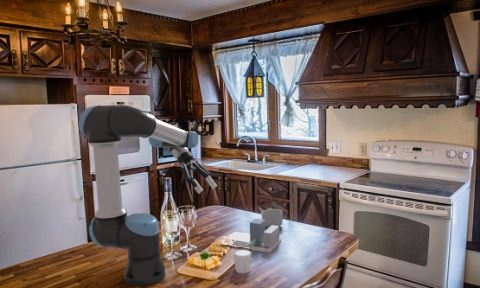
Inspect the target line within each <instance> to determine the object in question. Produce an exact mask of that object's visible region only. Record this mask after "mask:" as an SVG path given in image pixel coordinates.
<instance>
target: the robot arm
mask: <svg viewBox="0 0 480 288" xmlns="http://www.w3.org/2000/svg"><path fill="white" fill-rule="evenodd" d="M78 125H79V131H80V132H81V133H82V135H83V136H84V137H86V138H87V143H88V145H90V146H91V147H92V150H93V151H92V152H93V160H94V162H93V163H94V172H95V173H94V174H95V183H96V193H97V194H96V195H97V207H98V209H97V211H96V212H95V213H94V217H93V218H92V220H91V221H90V225H89V227H88V231H89V237H90V239H91V242H93V243H94V244H95V245H96V246H101V247H103V248H114V249H123V250H126V251H127V261H126V266H125V270H124V273H123V275H124V276H123V277H124V283H126V284H127V285H129V286H132V287H147V286H151V285H154V284H157V283H159V282H161V281H162V280H163V279H165V277H166V275H167V271H166V266H165V264H164V261H163V259H162V256H161V252H160V251H161V246H160V227H159V221H158V219H157V217H156V216H154V215H152V214H149V213H141V212H140V213H138V212H137V213H132V214H129V215H128V211H127V208H125V207H124V206H123V201H122V200H123V199H122V186H121V176H120V174H121V172H120V161H119V152H118V150H119V149H118V145H119V144H120V143H121V142H122V138H127V137H128V138H129V137H130V138H133V137H134V138H135V137H137V138H142V139H147V138H148V142H149V145H150V146H151V147H154V148H165V149H166V148H167V149H168V150H169V152H170V153H171V154H172V156H173V157H174V158H175V159H176V161H177V163H178V164H179V168H180V169H181V172H182V175H183V178H184V181H185V182H186V183H187V184H191V186H192V187H193V188H194V190H195V191H196V193H197V194H199V195H200V194H201V192H203V191H204V189H203V188H202V187H201V185H200V184H199V183H198V181H197V180H196V178H194V173H195V172H196V173H198V174H199V175H201V176H202V177H203V178H205V181H206V182H207V183H208V185H209V186H210V187H211V189H212V190H214V189H215V188H216V187H217V186H218V185H217V183H216V182H215V181H214V179H213V178H212V176H211V174H212V173H211V172H210V171H209V169H208V168H206V167H205V166H203V165H202V163H200V162H199V161H198V159H196V160H194V155H193V154H192V152H191V151H190V150H189V149H194V148H196V147H197V146H198V144H199V135H198V133H197V132H196V131H192V130H189V131H187V130H184V129H181V128H178V127H176V126H174V125H172V124H169V123H167V122H164V121H162V120H159V119H157V118H156V117H155V116H154V115H153V114H151V113H150V112H147V111H144V110H142V109H139V108H137V107H133V106H130V105H125V104H117V105H116V104H115V105H114V104H112V105H101V104H100V105H99V104H98V105H93V106H89V107H87V108H85V109H84V111H83V112H82V113H81V114H80V117H79V123H78Z"/></svg>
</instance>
